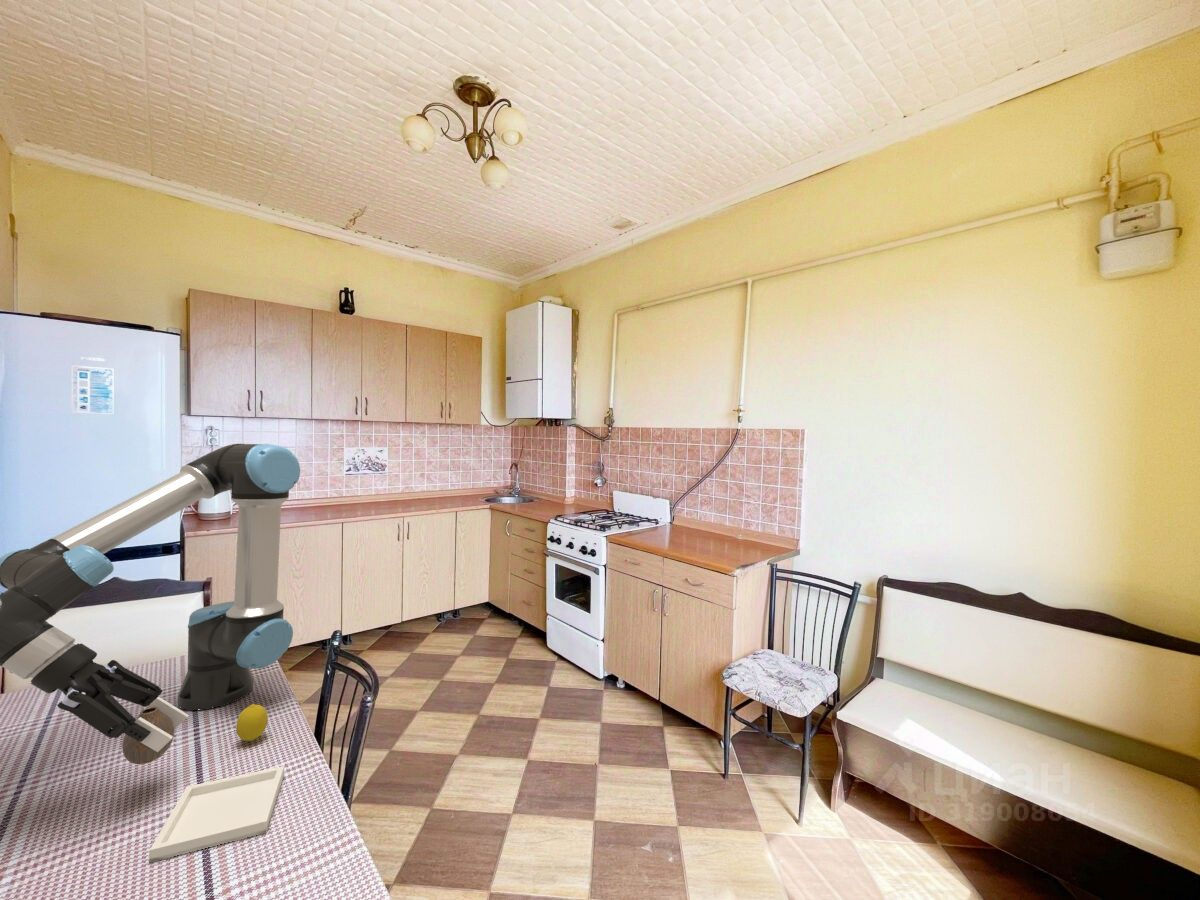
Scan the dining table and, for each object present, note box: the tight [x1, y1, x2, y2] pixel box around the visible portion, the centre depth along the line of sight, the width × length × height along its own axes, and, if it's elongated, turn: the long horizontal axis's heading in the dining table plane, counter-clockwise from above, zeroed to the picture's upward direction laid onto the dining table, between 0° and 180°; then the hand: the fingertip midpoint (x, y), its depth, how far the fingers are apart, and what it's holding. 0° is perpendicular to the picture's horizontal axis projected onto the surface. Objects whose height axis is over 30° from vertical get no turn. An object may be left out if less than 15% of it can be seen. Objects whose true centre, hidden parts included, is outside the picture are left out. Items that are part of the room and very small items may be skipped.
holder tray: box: [148, 765, 285, 864], centre depth 83 cm, size 15×15×2 cm
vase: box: [121, 707, 175, 765], centre depth 87 cm, size 7×7×9 cm
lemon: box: [235, 703, 269, 743], centre depth 103 cm, size 6×6×8 cm
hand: (173, 732), depth 89 cm, fingers closed on vase, 7 cm apart
